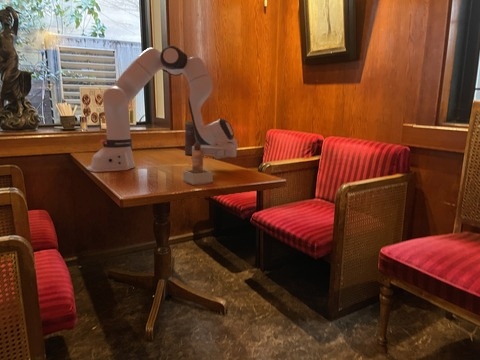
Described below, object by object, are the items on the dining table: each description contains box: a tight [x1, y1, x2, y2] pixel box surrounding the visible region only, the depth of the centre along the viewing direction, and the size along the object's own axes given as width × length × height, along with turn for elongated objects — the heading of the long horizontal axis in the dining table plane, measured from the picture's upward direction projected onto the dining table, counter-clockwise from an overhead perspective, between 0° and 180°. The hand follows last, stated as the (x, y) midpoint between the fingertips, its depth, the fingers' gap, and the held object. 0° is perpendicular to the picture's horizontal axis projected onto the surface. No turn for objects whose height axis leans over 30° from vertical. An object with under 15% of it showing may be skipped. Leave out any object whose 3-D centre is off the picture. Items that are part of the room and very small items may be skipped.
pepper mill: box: [191, 142, 204, 174], centre depth 153 cm, size 4×4×16 cm
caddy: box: [182, 168, 214, 186], centre depth 154 cm, size 9×9×4 cm
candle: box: [184, 121, 197, 156], centre depth 226 cm, size 8×7×20 cm
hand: (206, 152), depth 160 cm, fingers open, 8 cm apart
